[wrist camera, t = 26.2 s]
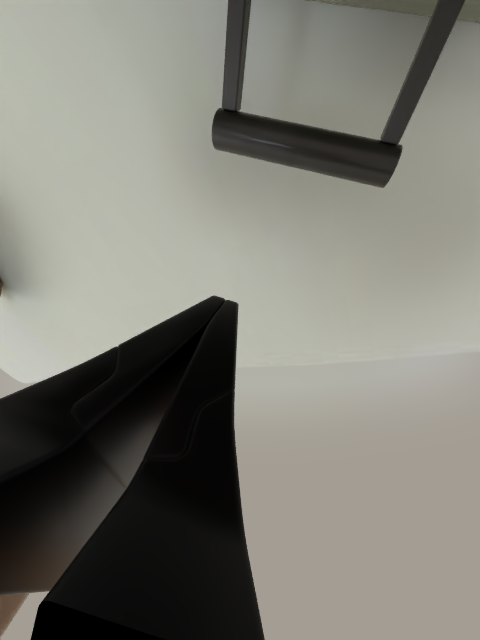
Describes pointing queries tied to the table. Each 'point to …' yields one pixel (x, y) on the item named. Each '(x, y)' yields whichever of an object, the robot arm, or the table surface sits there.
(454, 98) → the table surface
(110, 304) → the table surface
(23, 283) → the table surface
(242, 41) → the drawer
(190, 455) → the robot arm
